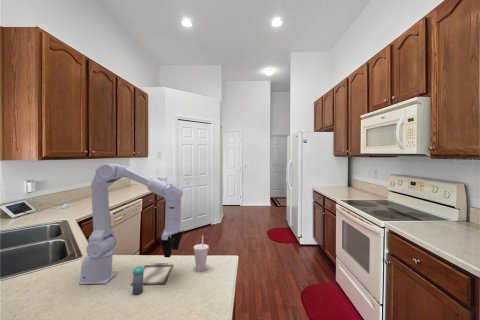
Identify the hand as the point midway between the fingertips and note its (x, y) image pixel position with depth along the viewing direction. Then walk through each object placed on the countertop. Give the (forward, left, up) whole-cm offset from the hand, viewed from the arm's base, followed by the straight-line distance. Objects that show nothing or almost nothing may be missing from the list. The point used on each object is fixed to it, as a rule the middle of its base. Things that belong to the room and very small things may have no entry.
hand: (171, 253), depth 85 cm
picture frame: (-7, +4, -10) cm, 13 cm away
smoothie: (+11, +7, -10) cm, 17 cm away
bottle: (-9, -9, -10) cm, 16 cm away
